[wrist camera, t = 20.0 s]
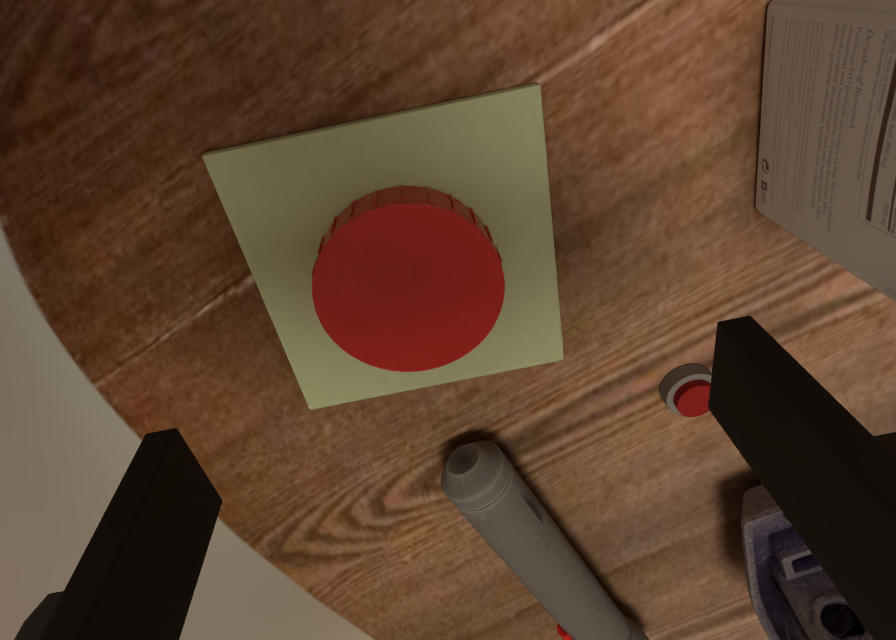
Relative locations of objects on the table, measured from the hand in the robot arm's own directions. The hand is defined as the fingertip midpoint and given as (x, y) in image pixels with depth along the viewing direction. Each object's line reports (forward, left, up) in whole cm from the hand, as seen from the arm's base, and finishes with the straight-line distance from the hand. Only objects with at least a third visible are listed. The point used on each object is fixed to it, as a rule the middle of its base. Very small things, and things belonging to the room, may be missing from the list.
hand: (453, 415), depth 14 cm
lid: (+2, -1, -11) cm, 11 cm away
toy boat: (+28, +20, -14) cm, 37 cm away
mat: (+2, -1, -14) cm, 14 cm away
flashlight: (+27, +4, -14) cm, 30 cm away
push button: (+13, +13, -14) cm, 23 cm away
